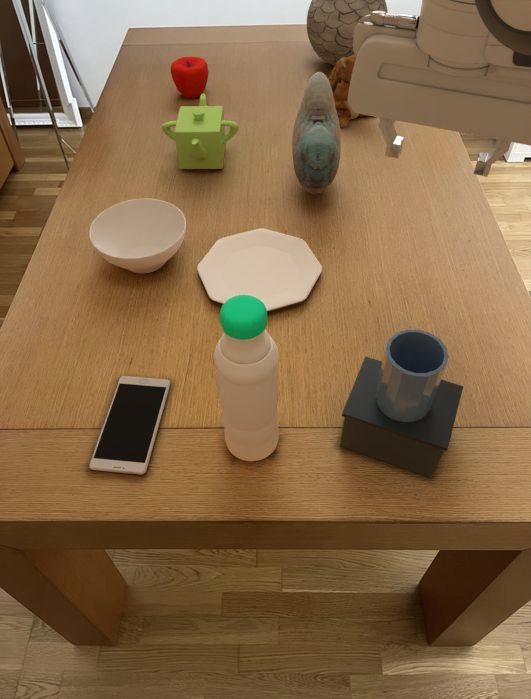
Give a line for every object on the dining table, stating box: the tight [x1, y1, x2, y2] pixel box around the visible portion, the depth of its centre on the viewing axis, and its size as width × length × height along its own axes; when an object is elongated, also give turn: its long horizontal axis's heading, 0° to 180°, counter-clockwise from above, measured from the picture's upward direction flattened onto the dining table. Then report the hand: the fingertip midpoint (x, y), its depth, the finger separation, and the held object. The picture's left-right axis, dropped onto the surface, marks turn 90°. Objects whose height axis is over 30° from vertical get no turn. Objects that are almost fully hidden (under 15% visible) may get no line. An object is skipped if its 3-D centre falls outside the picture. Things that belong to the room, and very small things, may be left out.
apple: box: [170, 56, 209, 99], centre depth 134 cm, size 9×9×8 cm
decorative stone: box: [291, 71, 342, 195], centre depth 104 cm, size 21×9×20 cm, turn 177°
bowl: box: [88, 198, 187, 274], centre depth 96 cm, size 16×16×7 cm
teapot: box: [161, 92, 240, 170], centre depth 114 cm, size 15×13×11 cm
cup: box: [375, 328, 450, 422], centre depth 65 cm, size 7×7×9 cm
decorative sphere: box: [306, 0, 389, 67], centre depth 139 cm, size 20×20×20 cm
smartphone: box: [88, 375, 171, 476], centre depth 76 cm, size 8×1×15 cm
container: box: [339, 356, 464, 479], centre depth 72 cm, size 13×10×8 cm
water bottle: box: [213, 295, 280, 462], centre depth 65 cm, size 7×7×25 cm
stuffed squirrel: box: [328, 55, 370, 129], centre depth 125 cm, size 10×14×13 cm
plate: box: [196, 228, 323, 313], centre depth 95 cm, size 20×20×2 cm
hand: (436, 163), depth 60 cm, fingers open, 8 cm apart
